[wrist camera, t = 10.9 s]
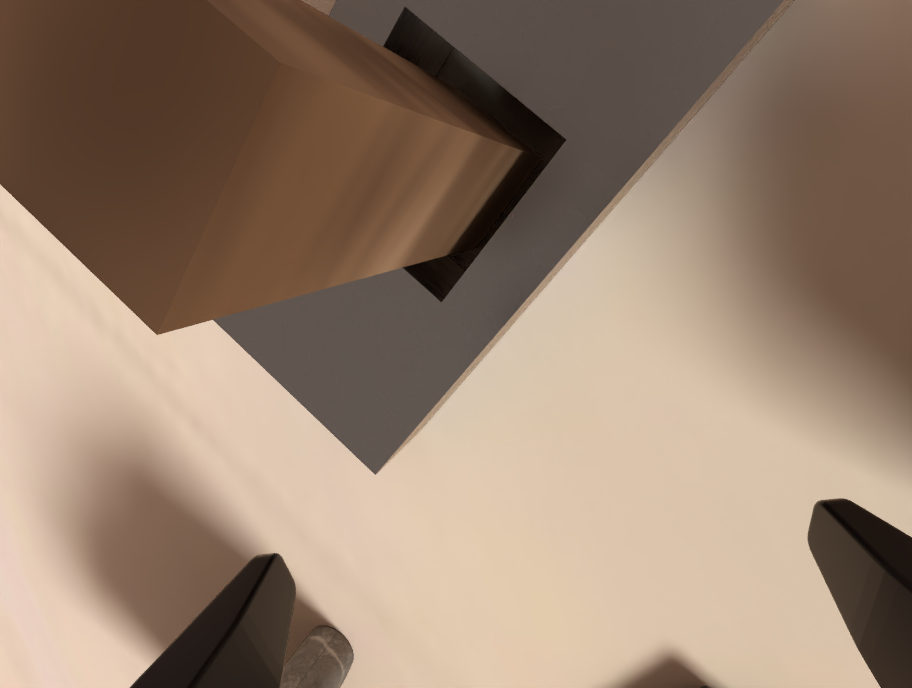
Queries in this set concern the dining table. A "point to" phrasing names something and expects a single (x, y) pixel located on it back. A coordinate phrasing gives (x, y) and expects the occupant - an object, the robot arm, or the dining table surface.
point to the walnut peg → (238, 150)
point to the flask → (319, 661)
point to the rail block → (530, 222)
